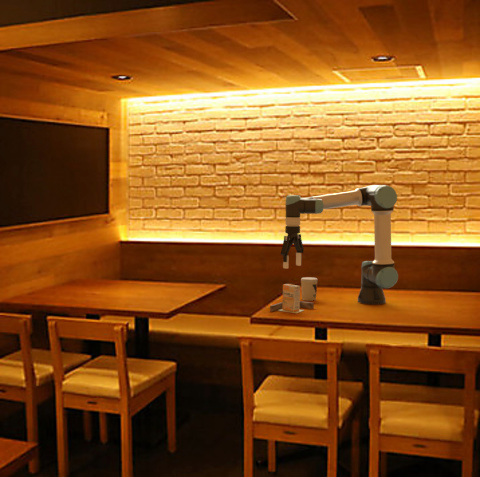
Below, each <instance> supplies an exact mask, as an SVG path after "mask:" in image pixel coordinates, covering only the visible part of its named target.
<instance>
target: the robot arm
mask: <svg viewBox="0 0 480 477" xmlns="http://www.w3.org/2000/svg"><path fill="white" fill-rule="evenodd" d="M397 201H398V194H397V191H396V190H395V189H394V187H391V186H390V185H387V184H372V185H367V186H364V187H358V188H355V190H350V191H345V192H338V193H330V194H329V193H328V194H322V195H316V196H309V197H301V195H297V194H293V195H292V194H291V195H290V194H288V195H287V196H286V197H285V220H284V221H285V227H284V228H285V234H286V235H284V236H283V242H282V246H281V250H280V251H281V252H280V255H281V256H282V268H283V269H288V270H289V264H290V262H289V261H290V260H289V259H290V258H289V253H290V251H291V247H292V246H294V248H295V250H296V252H295V266H298V267H301V266H302V254H303V253H304V252H305V250H304V244H303V240H302V234H301V226H300V225H301V214H302V215H303V214H307V215H310V214H311V215H313V214H315V215H317V214H322V213H323V211H324V210H328V209H335V208H342V207H349V206H350V207H351V206H357V207H365V206H366V207H370V211H371V213H372V214H373V217H374V218H373V220H374V221H373V222H374V223H373V226H374V227H373V228H374V229H373V230H374V233H373V234H374V260H365V261H362V263H361V266H360V267H361V268H360V269H361V277H360V278H361V280H360V281H361V282H360V285H361V286H360V290H359V292H358V296H357V303H359V304H364V305H384V304H386V295H385V292H384V289H390V288H393V287H394V286H395V285H396V284H397V282H398V280H399V274H398V271H397V269H395V261H394V260H393V258H392V213H393V212H394V210H395V209H394V206H395V205H396V203H397Z"/></svg>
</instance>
